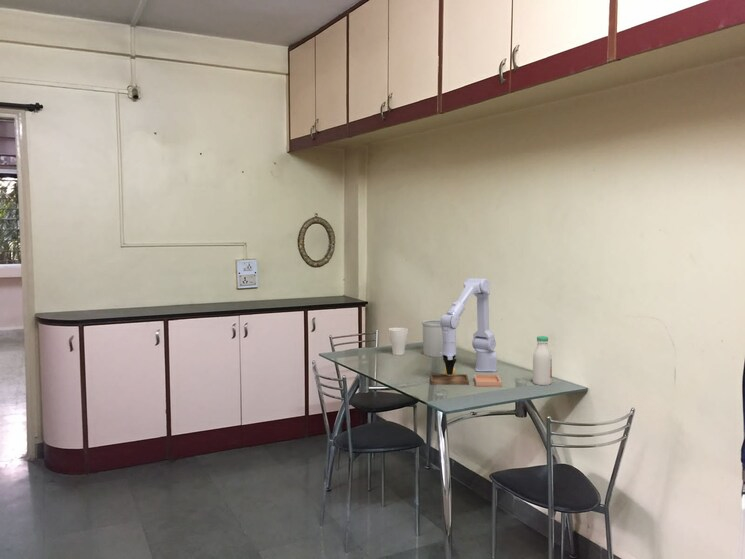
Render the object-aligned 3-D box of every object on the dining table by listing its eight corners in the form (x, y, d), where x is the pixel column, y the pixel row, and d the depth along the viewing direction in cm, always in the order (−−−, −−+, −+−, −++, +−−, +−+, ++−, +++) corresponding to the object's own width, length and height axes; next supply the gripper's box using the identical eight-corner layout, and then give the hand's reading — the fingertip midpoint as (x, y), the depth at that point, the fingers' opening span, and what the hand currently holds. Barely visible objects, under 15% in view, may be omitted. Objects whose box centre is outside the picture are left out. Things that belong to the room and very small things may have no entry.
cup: (389, 352, 332) (389, 327, 331) (409, 352, 331) (408, 327, 329) (387, 356, 322) (387, 330, 320) (407, 356, 320) (407, 330, 319)
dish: (497, 379, 270) (497, 374, 270) (501, 386, 258) (501, 382, 258) (473, 379, 271) (473, 374, 271) (476, 386, 259) (476, 381, 259)
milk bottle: (548, 386, 257) (549, 339, 256) (530, 384, 262) (530, 337, 260) (553, 382, 264) (554, 336, 262) (535, 380, 268) (536, 334, 266)
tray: (466, 377, 274) (466, 374, 274) (469, 384, 262) (469, 381, 262) (430, 377, 275) (430, 374, 275) (431, 384, 263) (431, 381, 263)
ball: (455, 374, 270) (455, 363, 270) (455, 377, 266) (455, 366, 265) (444, 374, 271) (444, 363, 271) (444, 376, 266) (444, 365, 266)
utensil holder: (448, 357, 315) (448, 323, 314) (419, 356, 320) (419, 323, 318) (452, 352, 330) (452, 319, 328) (425, 350, 334) (425, 318, 332)
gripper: (439, 338, 275) (439, 369, 276) (440, 345, 260) (440, 376, 261) (455, 338, 274) (455, 369, 275) (457, 345, 260) (457, 377, 261)
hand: (449, 372), depth 268 cm, fingers closed on ball, 5 cm apart
